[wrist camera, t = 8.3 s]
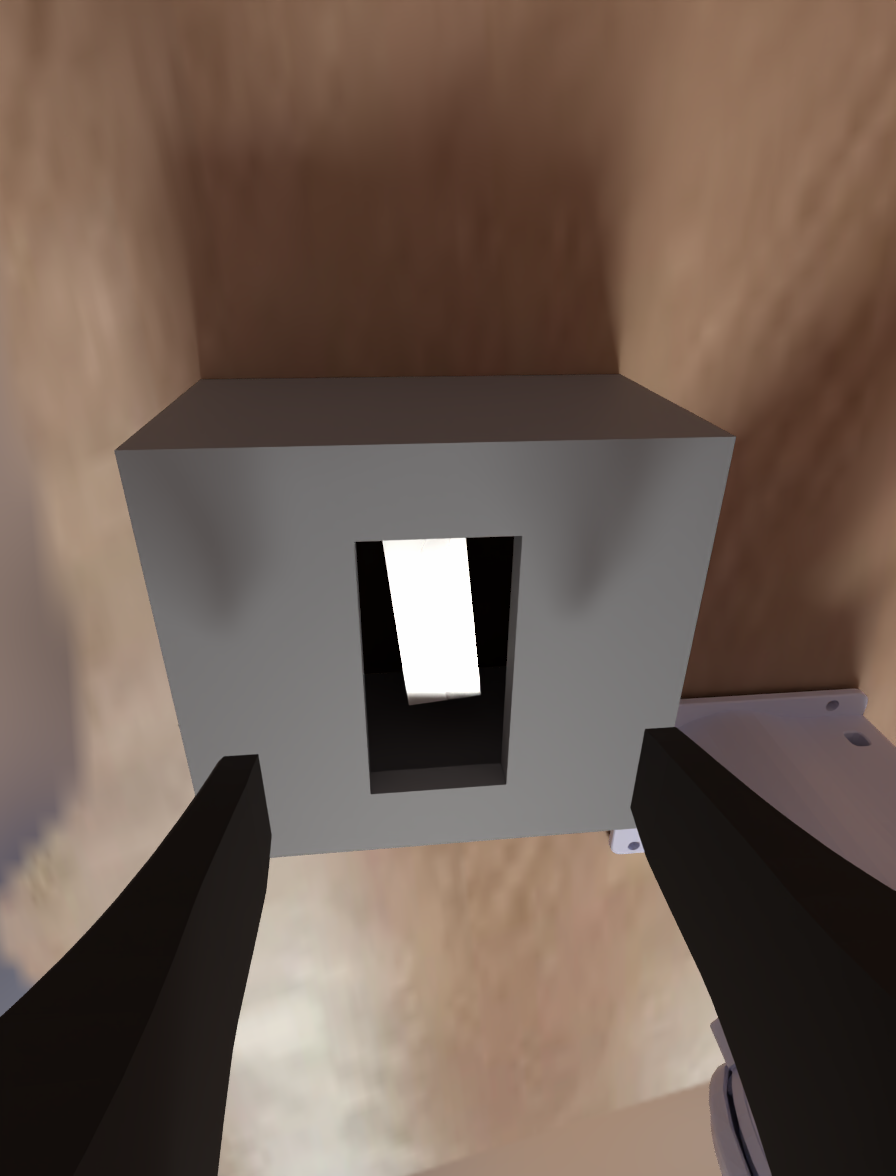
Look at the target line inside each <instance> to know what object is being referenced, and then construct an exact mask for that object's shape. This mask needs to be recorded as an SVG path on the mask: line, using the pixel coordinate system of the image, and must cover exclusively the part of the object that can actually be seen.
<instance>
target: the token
mask: <svg viewBox="0 0 896 1176" xmlns="http://www.w3.org/2000/svg"><path fill="white" fill-rule="evenodd" d="M383 547H384V554H385V560H386V566H387V572H388V578H389V585H390V591H391V597H392V603H393V610H394V616H395V622H396V628H397V634H398V641H399V647H400V653H401V659H402V665H403V672H404V678H405V684H406V690H407V696H408V703H409V705H415V704H422V703H429V702H436V701H443V700H449V699H456V698H463V697H470V696H476V695H481V693H480V683H479V672H478V662H477V651H476V641H475V630H474V619H473V609H472V598H471V588H470V577H469V567H468V556H467V545H466V538H445V539H417V540H389V541H383Z"/></svg>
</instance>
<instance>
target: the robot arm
mask: <svg viewBox="0 0 896 1176" xmlns="http://www.w3.org/2000/svg"><path fill="white" fill-rule="evenodd" d="M830 701H831V702H830ZM829 702H830V703H829ZM867 703H868V697H867V695H866V694H864V693H863V692H862V691H861V690H859V689H838V690H822V691H806V692H789V693H773V694H757V695H741V696H724V697H708V698H692V699H680V702H679V707H678V712H677V717H676V721H675V726H674V727H666V728H651V729H645V731H644V737H643V742H642V747H641V753H640V758H639V764H638V769H637V774H636V780H635V785H634V790H633V796H632V801H631V806H630V808H631V812H632V815H633V818H634V821H635V824H636V828H634V829H622V830H611V831H610V837H609V845H610V848H611V850H612V851H613V852H614V853H616V854H629V853H641V852H645V855H646V858H647V860H648V862H649V865H650V867H651V869H652V871H653V873H654V876H655V878H656V880H657V882H658V884H659V886H660V889H661V891H662V893H663V895H664V897H665V899H666V901H667V904H668V906H669V908H670V910H671V912H672V914H673V916H674V918H675V921H676V923H677V925H678V927H679V929H680V931H681V933H682V935H683V937H684V940H685V942H686V944H687V946H688V948H689V950H690V952H691V954H692V957H693V959H694V961H695V963H696V965H697V967H698V969H699V971H700V973H701V976H702V978H703V980H704V983H705V985H706V988H707V990H708V992H709V995H710V997H711V999H712V1002H713V1004H714V1007H715V1010H716V1013H717V1015H718V1018H717V1019H716V1020H715V1021H713V1022H712V1023H711V1025H710V1027H711V1029H712V1032H713V1034H714V1036H715V1039H716V1041H717V1043H718V1046H719V1048H720V1050H721V1052H722V1055H723V1057H724V1059H725V1062H726V1063H724V1064H722V1065H720V1066H719V1067H718V1068H717V1069H716V1071H715V1072H714V1073H713V1075H712V1078H711V1082H710V1086H709V1089H710V1090H709V1106H710V1114H711V1132H712V1138H713V1144H714V1148H715V1153H716V1156H717V1160H718V1164H719V1167H720V1170H721V1173H722V1176H896V747H895V746H894V745H893V744H892V743H891V742H890V741H889V740H888V739H887V738H886V737H885V736H884V735H883V734H882V733H881V732H880V731H879V730H878V729H877V728H876V727H875V726H873V725H872V724H871V723H870V722H869V721H868V720H867V719H866V718H865V717H864V716H863V713H864V711H865V708H866V705H867ZM271 839H272V833H271V827H270V821H269V815H268V809H267V803H266V797H265V791H264V785H263V779H262V773H261V767H260V761H259V755H258V754H251V755H235V756H224V757H222V758H221V759H220V760H219V761H218V763H217V764H216V766H215V767H214V769H213V770H212V772H211V774H210V775H209V777H208V778H207V780H206V781H205V783H204V784H203V786H202V787H201V789H200V790H199V792H198V793H197V794H196V796H195V797H194V799H193V800H192V802H191V803H190V805H189V806H188V807H187V809H186V810H185V812H184V813H183V814H182V816H181V817H180V819H179V820H178V821H177V823H176V824H175V825H174V827H173V828H172V829H171V831H170V832H169V833H168V835H167V836H166V837H165V839H164V840H163V841H162V843H161V844H160V846H159V847H158V848H157V850H156V851H155V852H154V853H153V855H152V856H151V857H150V859H149V860H148V861H147V862H146V864H145V865H144V866H143V867H142V868H141V870H140V871H139V872H138V873H137V874H136V876H135V877H134V878H133V879H132V881H131V882H130V883H129V884H128V885H127V887H126V888H125V889H124V890H123V891H122V893H121V894H120V895H119V896H118V898H117V899H116V900H115V901H114V902H113V903H112V905H111V906H110V907H109V908H108V909H107V910H106V911H105V912H104V914H103V915H102V916H101V917H100V918H99V919H98V920H97V921H96V922H95V924H94V925H93V926H92V927H91V928H90V929H89V930H88V931H87V932H86V933H85V934H84V935H83V936H82V938H81V939H80V940H79V941H78V942H77V943H76V944H75V945H74V946H73V947H72V948H71V949H70V950H69V951H68V952H67V953H66V954H65V955H64V956H63V957H62V958H61V959H60V960H59V961H58V962H57V963H56V964H55V965H54V966H53V967H52V968H51V969H50V970H49V971H48V972H47V973H46V974H45V975H44V976H43V977H42V978H41V979H40V980H39V981H38V982H37V983H36V984H35V985H34V986H33V987H32V988H31V989H30V990H29V991H28V992H27V993H26V994H25V995H24V996H23V997H21V998H20V999H19V1000H18V1001H17V1002H16V1003H15V1004H14V1005H13V1006H12V1007H11V1008H10V1009H9V1010H8V1011H6V1012H5V1013H4V1014H3V1015H2V1016H1V1017H0V1176H217V1175H218V1166H219V1158H220V1149H221V1140H222V1132H223V1123H224V1115H225V1107H226V1099H227V1091H228V1084H229V1076H230V1068H231V1060H232V1053H233V1047H234V1041H235V1035H236V1030H237V1024H238V1019H239V1015H240V1010H241V1005H242V1001H243V996H244V992H245V987H246V983H247V978H248V973H249V969H250V964H251V960H252V955H253V951H254V946H255V941H256V937H257V932H258V927H259V923H260V918H261V913H262V909H263V904H264V899H265V894H266V888H267V879H268V870H269V860H270V850H271Z"/></svg>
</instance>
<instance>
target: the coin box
mask: <svg viewBox="0 0 896 1176" xmlns="http://www.w3.org/2000/svg"><path fill="white" fill-rule="evenodd" d="M735 440H736V436H734V435H732V434H730V433H728V432H727V431H725V430H723V429H721V428H719V427H717V426H715V425H714V424H712V423H710V422H708V421H706V420H704V419H702V418H701V417H699V416H697V415H695V414H693V413H691V412H689V411H688V410H686V409H684V408H682V407H680V406H678V405H676V404H675V403H673V402H671V401H669V400H667V399H665V398H663V397H661V396H660V395H658V394H656V393H654V392H652V391H650V390H648V389H647V388H645V387H643V386H641V385H639V384H637V383H635V382H634V381H632V380H630V379H628V378H626V377H624V376H622V375H621V374H592V375H512V376H433V377H353V378H273V379H200V380H199V381H198V382H197V383H196V384H194V385H193V386H192V387H191V388H190V389H188V390H187V391H186V392H185V393H183V394H182V395H181V396H180V397H179V398H177V399H176V400H175V401H174V402H173V403H171V404H170V405H169V406H168V407H166V408H165V409H164V410H163V411H162V412H160V413H159V414H158V415H157V416H156V417H154V418H153V419H152V420H151V421H149V422H148V423H147V424H146V425H145V426H143V427H142V428H141V429H140V430H139V431H137V432H136V433H135V434H134V435H133V436H131V437H130V438H129V439H128V440H126V441H125V442H124V443H123V444H122V445H120V446H119V447H118V448H117V449H116V450H114V451H115V455H116V460H117V464H118V468H119V472H120V477H121V481H122V485H123V489H124V494H125V498H126V502H127V506H128V511H129V515H130V519H131V523H132V528H133V532H134V536H135V540H136V545H137V549H138V553H139V558H140V562H141V566H142V570H143V575H144V579H145V583H146V587H147V592H148V596H149V600H150V604H151V609H152V613H153V617H154V621H155V626H156V630H157V634H158V638H159V643H160V647H161V651H162V655H163V660H164V664H165V668H166V672H167V677H168V681H169V685H170V689H171V694H172V698H173V702H174V706H175V711H176V715H177V719H178V723H179V728H180V732H181V736H182V740H183V745H184V749H185V753H186V757H187V762H188V766H189V770H190V774H191V779H192V783H193V787H194V791H195V796H196V794H197V793H198V792H199V790H200V789H201V787H202V786H203V784H204V783H205V781H206V780H207V778H208V777H209V775H210V774H211V772H212V770H213V769H214V767H215V766H216V764H217V763H218V761H219V760H220V759H221V758H222V757H224V756H235V755H251V754H258V755H259V761H260V767H261V773H262V779H263V785H264V791H265V797H266V803H267V809H268V815H269V821H270V827H271V833H272V839H271V850H270V858H274V857H286V856H298V855H311V854H323V853H336V852H348V851H361V850H373V849H385V848H398V847H410V846H423V845H435V844H448V843H460V842H473V841H485V840H497V839H510V838H522V837H535V836H547V835H560V834H572V833H584V832H597V831H609V830H622V829H634V828H636V824H635V821H634V818H633V815H632V812H631V808H630V806H631V801H632V796H633V790H634V785H635V780H636V774H637V769H638V764H639V758H640V753H641V747H642V742H643V737H644V731H645V729H651V728H666V727H674V726H675V721H676V717H677V712H678V707H679V702H680V698H681V693H682V688H683V684H684V679H685V674H686V670H687V665H688V660H689V656H690V651H691V646H692V641H693V637H694V632H695V627H696V623H697V618H698V613H699V609H700V604H701V599H702V595H703V590H704V585H705V580H706V576H707V571H708V566H709V562H710V557H711V552H712V548H713V543H714V538H715V533H716V529H717V524H718V519H719V515H720V510H721V505H722V501H723V496H724V491H725V487H726V482H727V477H728V472H729V468H730V463H731V458H732V454H733V449H734V444H735ZM500 536H514V548H513V566H512V583H511V600H510V617H509V634H508V652H507V666H500V667H482V668H478V672H479V683H480V693H481V695H476V696H470V697H463V698H456V699H449V700H443V701H436V702H429V703H422V704H415V705H409V703H408V696H407V690H406V684H405V678H404V672H391V673H373V674H364V663H363V647H362V632H361V616H360V601H359V585H358V570H357V554H356V542H362V541H389V540H417V539H445V538H473V537H500Z"/></svg>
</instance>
